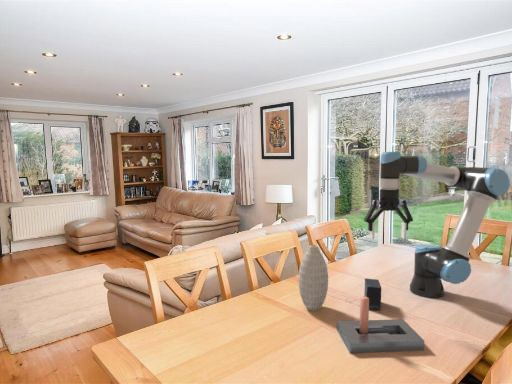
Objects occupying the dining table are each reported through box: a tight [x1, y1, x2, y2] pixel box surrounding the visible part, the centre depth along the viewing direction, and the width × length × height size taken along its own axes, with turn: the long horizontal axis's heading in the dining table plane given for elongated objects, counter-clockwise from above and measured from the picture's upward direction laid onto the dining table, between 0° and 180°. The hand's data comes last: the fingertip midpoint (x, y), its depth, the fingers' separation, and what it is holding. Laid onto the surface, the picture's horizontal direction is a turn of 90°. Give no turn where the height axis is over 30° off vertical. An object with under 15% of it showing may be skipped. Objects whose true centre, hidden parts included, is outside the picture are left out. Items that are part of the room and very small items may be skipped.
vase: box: [298, 244, 329, 312], centre depth 155 cm, size 13×13×28 cm
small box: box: [363, 278, 382, 311], centre depth 158 cm, size 11×6×10 cm, turn 168°
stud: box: [359, 295, 370, 334], centre depth 128 cm, size 5×5×16 cm
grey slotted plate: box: [336, 318, 425, 354], centre depth 129 cm, size 26×16×4 cm, turn 93°
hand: (387, 238), depth 150 cm, fingers open, 13 cm apart
